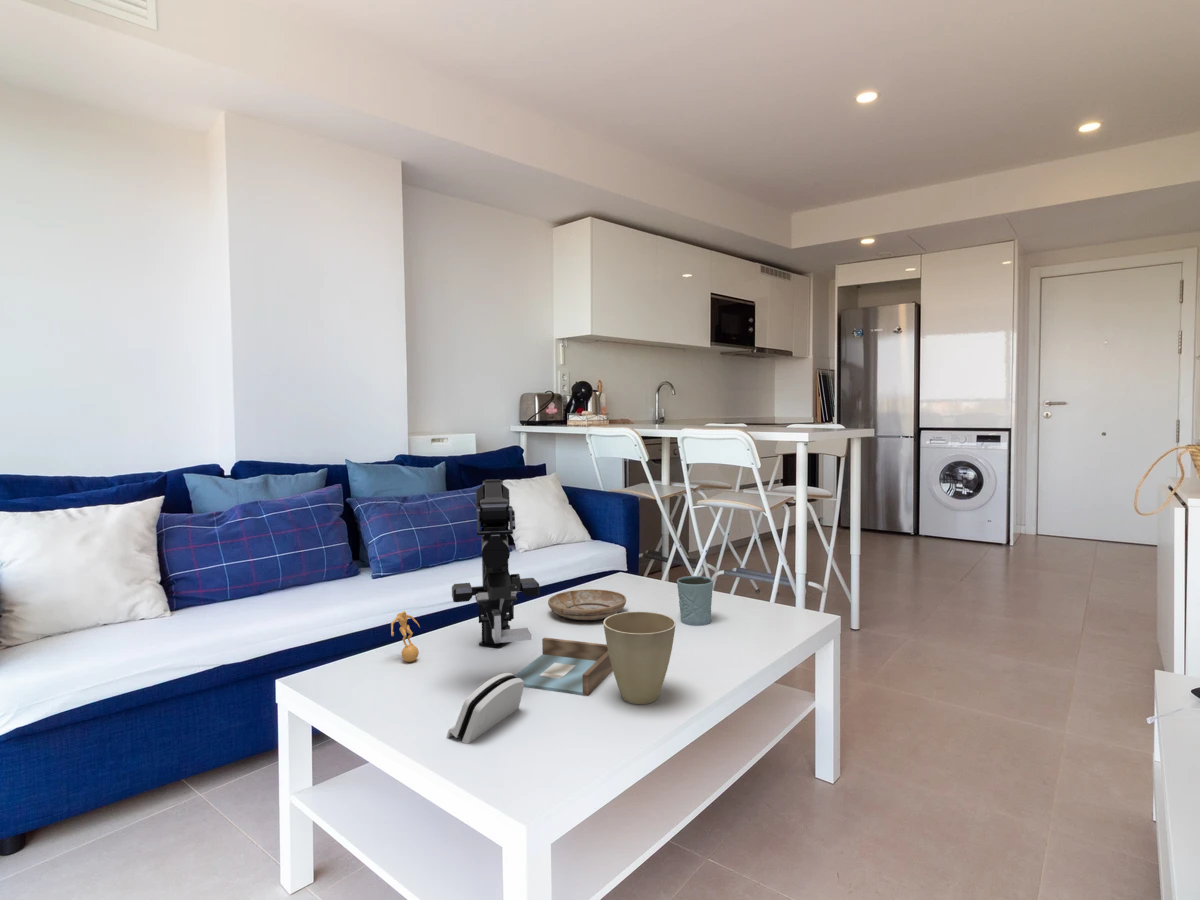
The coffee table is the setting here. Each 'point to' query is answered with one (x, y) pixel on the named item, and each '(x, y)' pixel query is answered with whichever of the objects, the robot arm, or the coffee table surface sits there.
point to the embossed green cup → (695, 600)
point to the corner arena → (568, 667)
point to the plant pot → (639, 652)
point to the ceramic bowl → (587, 604)
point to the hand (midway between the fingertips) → (496, 628)
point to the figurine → (409, 650)
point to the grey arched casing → (488, 706)
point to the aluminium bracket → (507, 631)
